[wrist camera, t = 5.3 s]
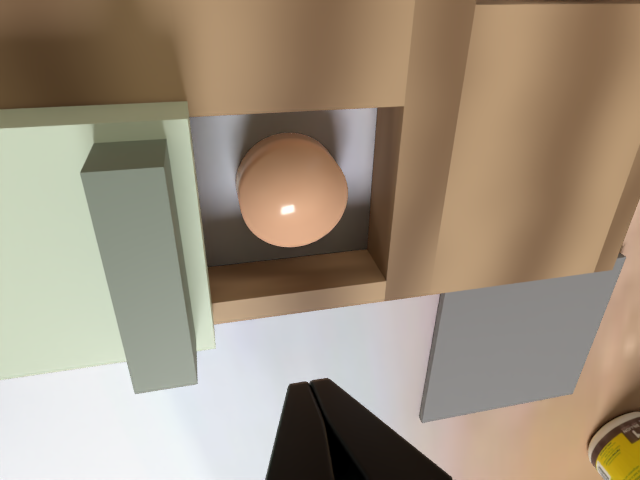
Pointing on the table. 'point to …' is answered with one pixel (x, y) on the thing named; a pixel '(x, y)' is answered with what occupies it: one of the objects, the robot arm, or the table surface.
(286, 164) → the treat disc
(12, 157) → the cover
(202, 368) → the table surface
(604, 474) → the supplement bottle
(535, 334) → the mat
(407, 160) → the puzzle board
